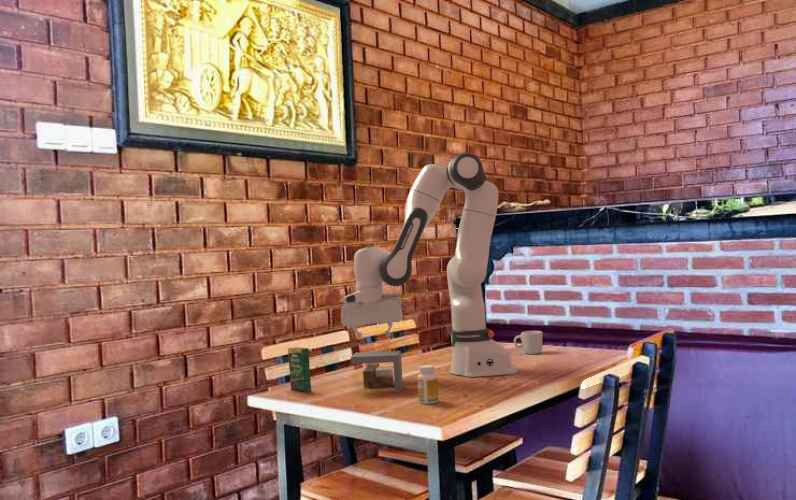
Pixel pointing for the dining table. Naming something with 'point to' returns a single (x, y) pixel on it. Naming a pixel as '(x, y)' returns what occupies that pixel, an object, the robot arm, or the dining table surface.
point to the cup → (530, 341)
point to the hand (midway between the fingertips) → (373, 337)
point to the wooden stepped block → (375, 377)
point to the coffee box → (299, 369)
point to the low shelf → (382, 358)
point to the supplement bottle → (427, 385)
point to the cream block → (385, 371)
